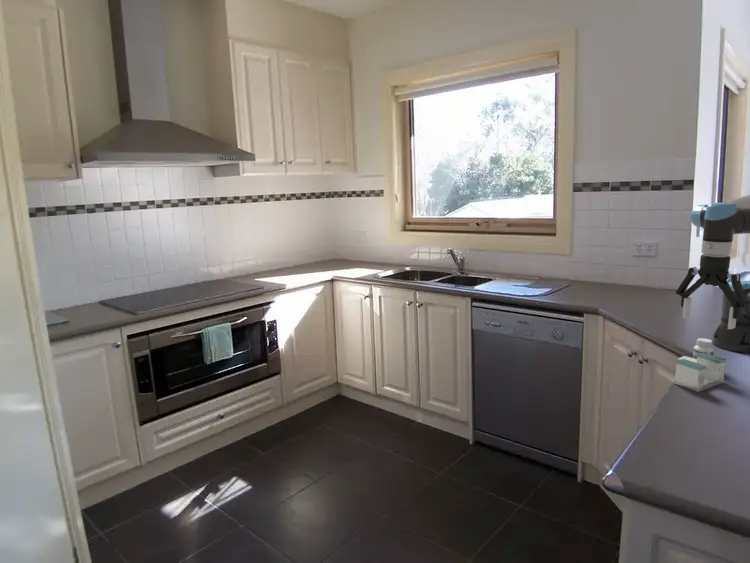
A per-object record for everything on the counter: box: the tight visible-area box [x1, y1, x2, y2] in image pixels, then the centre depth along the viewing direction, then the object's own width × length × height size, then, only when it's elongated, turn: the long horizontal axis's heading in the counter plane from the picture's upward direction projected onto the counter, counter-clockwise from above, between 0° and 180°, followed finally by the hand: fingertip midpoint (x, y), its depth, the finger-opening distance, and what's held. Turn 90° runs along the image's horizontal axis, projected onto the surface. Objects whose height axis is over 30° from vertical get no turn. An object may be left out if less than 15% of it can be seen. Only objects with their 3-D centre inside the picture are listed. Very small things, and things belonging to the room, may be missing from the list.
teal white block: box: [673, 353, 727, 393], centre depth 152 cm, size 13×7×7 cm, turn 118°
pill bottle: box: [692, 337, 715, 359], centre depth 163 cm, size 5×5×9 cm
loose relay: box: [677, 355, 697, 363], centre depth 160 cm, size 4×5×4 cm
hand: (707, 322), depth 161 cm, fingers open, 13 cm apart
